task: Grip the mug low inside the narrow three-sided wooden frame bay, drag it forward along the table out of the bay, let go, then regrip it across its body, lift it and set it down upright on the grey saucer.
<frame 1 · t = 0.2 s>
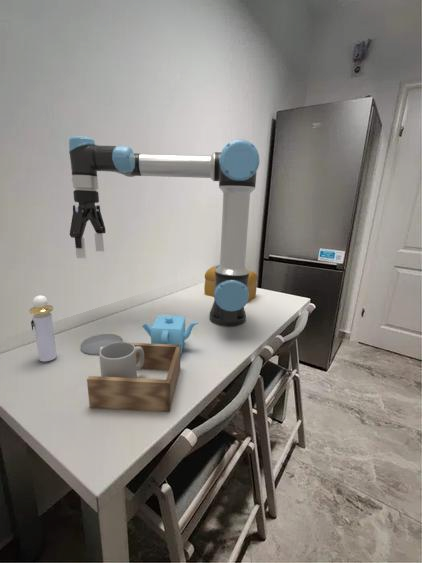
hand: (91, 254, 96), 28 cm above the table, fingers open, 13 cm apart
teapot: (171, 350, 90), on the table
bread: (229, 296, 146), on the table
three-sided wooden frame: (139, 385, 72), on the table
perfume bottle: (48, 360, 82), on the table
grey saucer: (102, 344, 92), on the table
mug: (125, 385, 72), on the table
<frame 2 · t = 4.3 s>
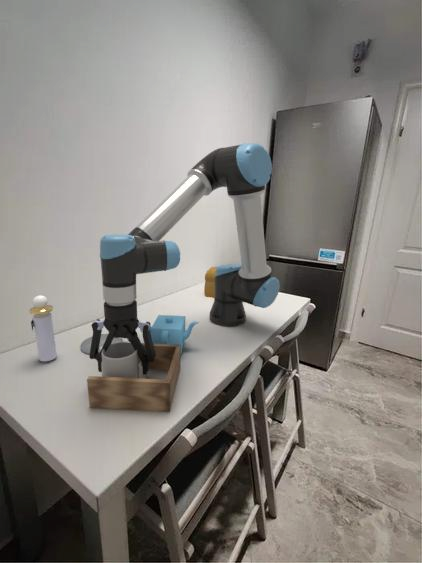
hand: (124, 383, 72), 1 cm above the table, fingers closed on mug, 9 cm apart
mug: (127, 385, 72), on the table, touching gripper
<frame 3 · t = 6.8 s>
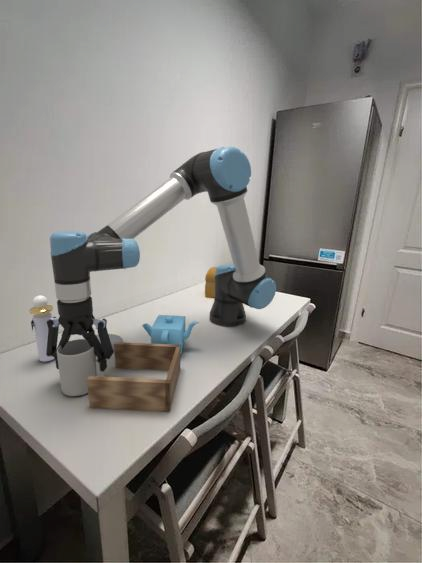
hand: (83, 380, 72), 1 cm above the table, fingers closed on mug, 9 cm apart
mug: (86, 382, 72), on the table, touching gripper
when the fingers open (1 cm above the table, at t = 8.3 s): mug stays where it is, on the table.
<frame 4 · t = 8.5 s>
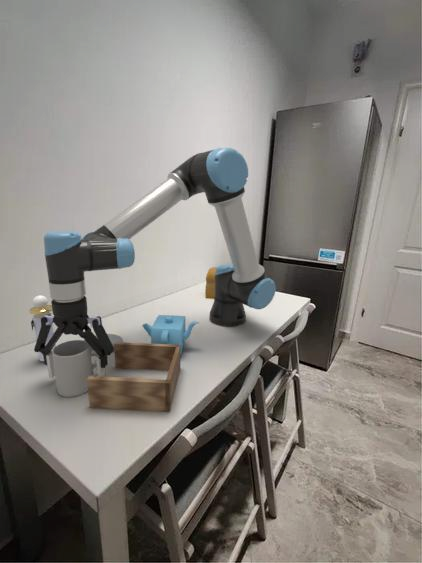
hand: (77, 376, 72), 2 cm above the table, fingers open, 12 cm apart
mug: (82, 383, 72), on the table
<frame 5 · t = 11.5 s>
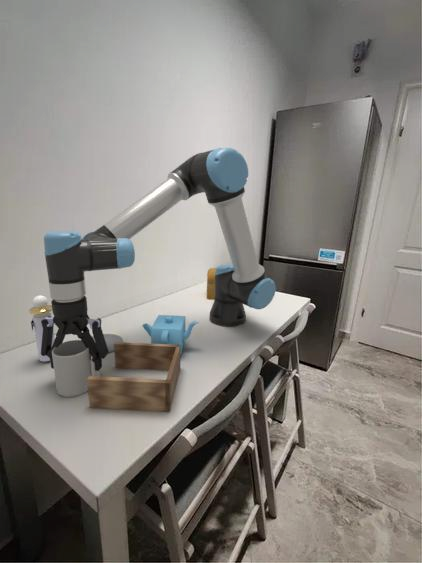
hand: (78, 379, 72), 1 cm above the table, fingers closed on mug, 9 cm apart
mug: (82, 383, 72), on the table, touching gripper
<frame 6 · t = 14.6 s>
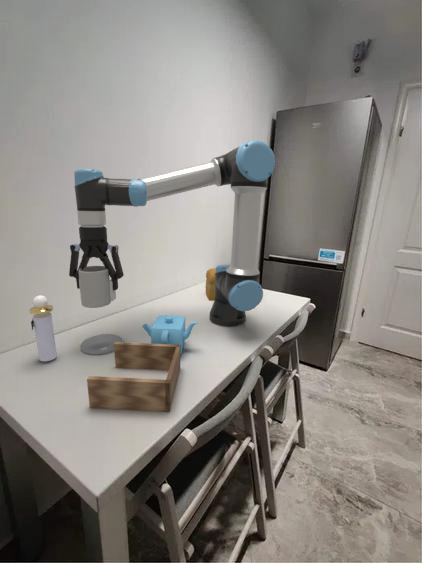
hand: (98, 298, 87), 16 cm above the table, fingers closed on mug, 9 cm apart
mug: (101, 302, 87), point 15 cm above the table, touching gripper
when the fingers open (3 cm above the table, at t = 17.5 s): mug drops 1 cm, resting on grey saucer.
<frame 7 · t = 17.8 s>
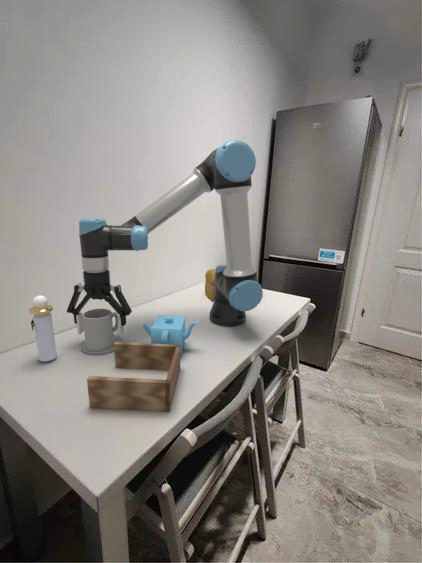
hand: (101, 333, 90), 4 cm above the table, fingers open, 13 cm apart
mug: (104, 343, 91), point 1 cm above the table, touching grey saucer
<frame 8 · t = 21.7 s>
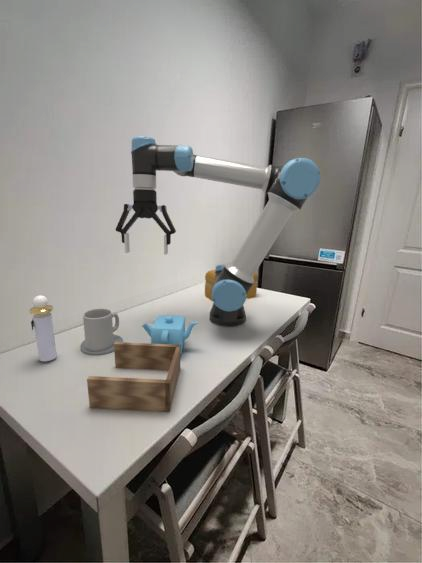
hand: (146, 253, 97), 29 cm above the table, fingers open, 13 cm apart
at the end: mug 0.8 cm from the grey saucer (horizontally); mug tilted 0°; the gripper is holding nothing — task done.
